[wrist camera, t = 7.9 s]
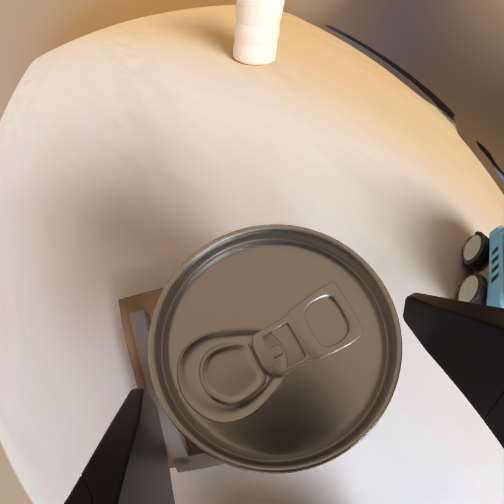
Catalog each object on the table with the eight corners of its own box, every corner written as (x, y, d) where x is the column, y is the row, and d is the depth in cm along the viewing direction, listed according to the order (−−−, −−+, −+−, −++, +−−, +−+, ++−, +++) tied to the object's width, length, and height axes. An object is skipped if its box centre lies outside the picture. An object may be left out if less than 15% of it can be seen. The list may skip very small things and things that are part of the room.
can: (178, 338, 16) (91, 274, 5) (267, 296, 18) (326, 176, 7) (225, 428, 14) (221, 529, 3) (315, 380, 16) (449, 379, 5)
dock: (373, 389, 18) (398, 389, 15) (173, 457, 15) (163, 474, 11) (321, 255, 22) (337, 234, 19) (130, 308, 19) (112, 294, 16)
